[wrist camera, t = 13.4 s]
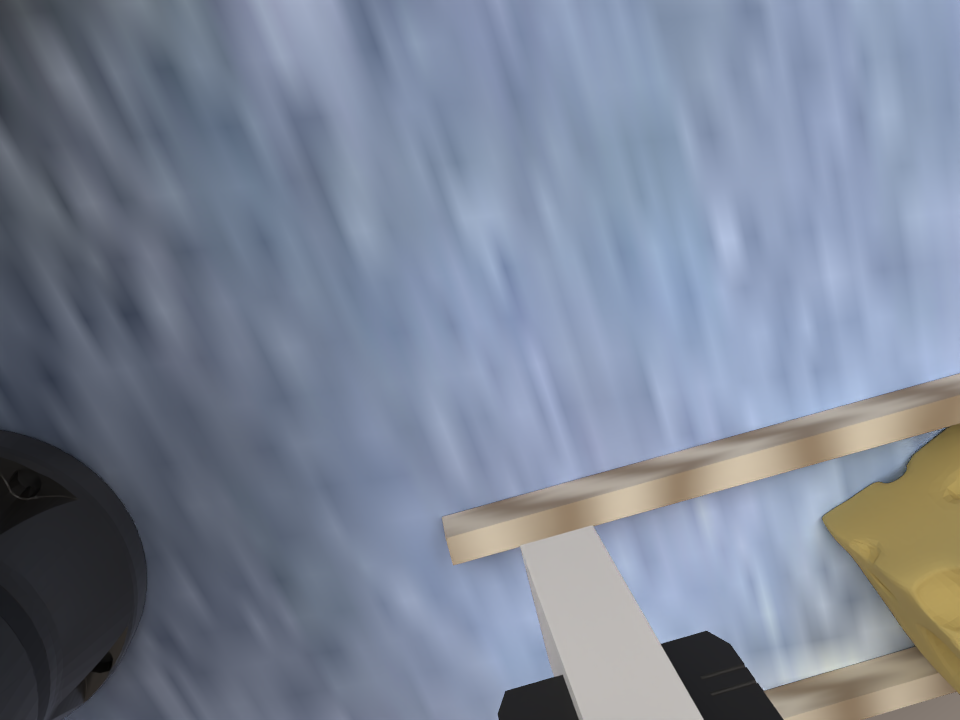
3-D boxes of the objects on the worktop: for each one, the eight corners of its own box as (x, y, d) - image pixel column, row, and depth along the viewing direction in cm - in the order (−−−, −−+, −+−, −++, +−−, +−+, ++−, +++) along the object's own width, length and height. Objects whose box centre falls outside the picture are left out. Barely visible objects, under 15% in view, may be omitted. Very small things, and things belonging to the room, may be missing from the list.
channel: (517, 787, 50) (535, 872, 44) (441, 517, 46) (451, 572, 40) (1113, 611, 52) (1206, 670, 46) (1096, 335, 48) (1197, 362, 42)
